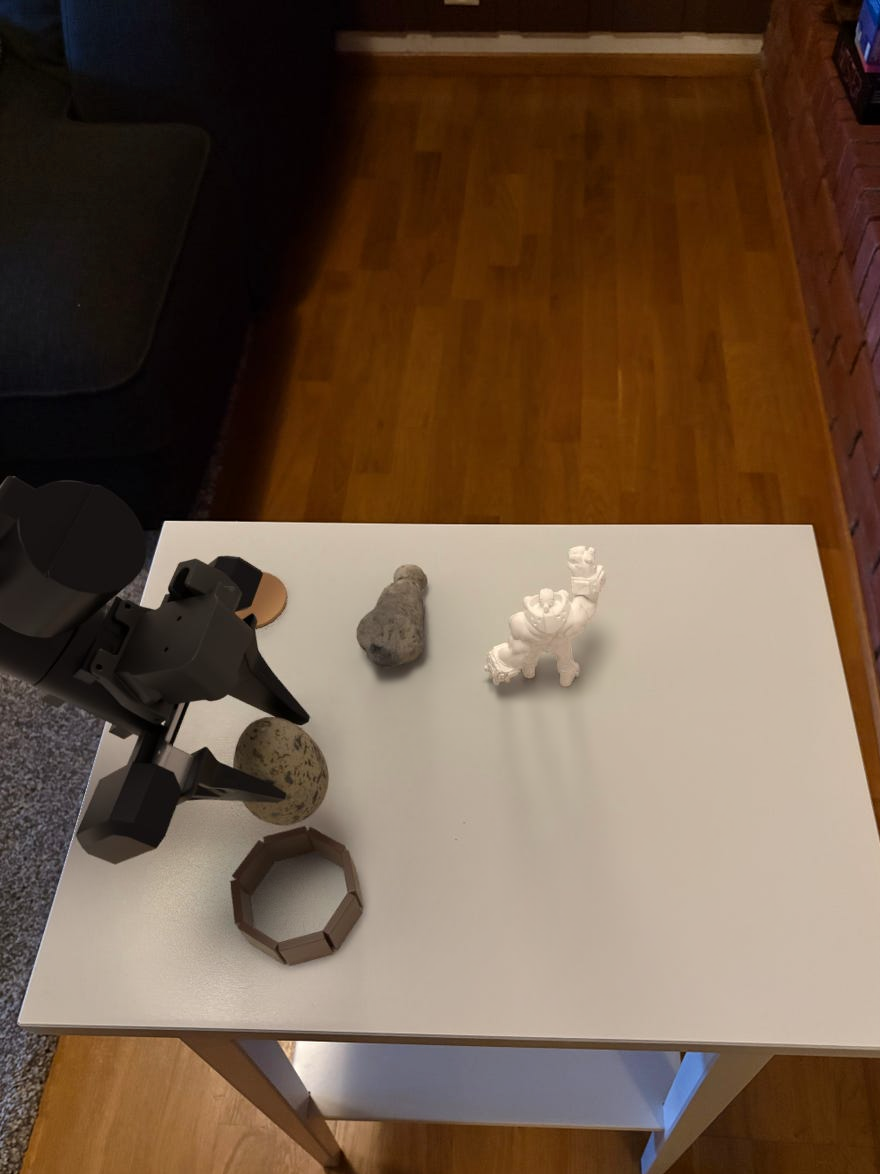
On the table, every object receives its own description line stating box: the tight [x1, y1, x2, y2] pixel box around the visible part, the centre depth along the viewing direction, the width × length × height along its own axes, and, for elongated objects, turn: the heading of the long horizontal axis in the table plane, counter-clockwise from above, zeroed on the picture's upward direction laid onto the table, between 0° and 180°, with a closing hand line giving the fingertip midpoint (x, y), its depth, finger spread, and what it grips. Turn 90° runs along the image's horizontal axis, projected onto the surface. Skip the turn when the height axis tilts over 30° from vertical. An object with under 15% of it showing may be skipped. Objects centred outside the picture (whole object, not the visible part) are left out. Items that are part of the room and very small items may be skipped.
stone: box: [356, 563, 428, 669], centre depth 77 cm, size 10×5×8 cm
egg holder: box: [229, 825, 364, 966], centre depth 64 cm, size 8×8×4 cm
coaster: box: [235, 571, 288, 629], centre depth 81 cm, size 6×6×1 cm
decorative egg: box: [232, 716, 330, 826], centre depth 58 cm, size 6×6×10 cm
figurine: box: [483, 545, 607, 688], centre depth 71 cm, size 10×5×12 cm, turn 120°
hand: (294, 759), depth 57 cm, fingers closed on decorative egg, 5 cm apart
